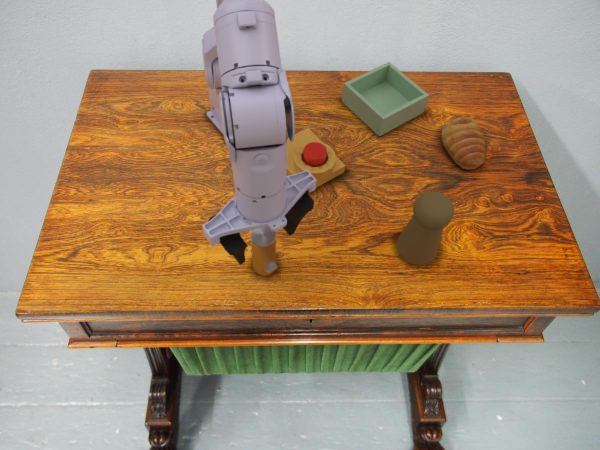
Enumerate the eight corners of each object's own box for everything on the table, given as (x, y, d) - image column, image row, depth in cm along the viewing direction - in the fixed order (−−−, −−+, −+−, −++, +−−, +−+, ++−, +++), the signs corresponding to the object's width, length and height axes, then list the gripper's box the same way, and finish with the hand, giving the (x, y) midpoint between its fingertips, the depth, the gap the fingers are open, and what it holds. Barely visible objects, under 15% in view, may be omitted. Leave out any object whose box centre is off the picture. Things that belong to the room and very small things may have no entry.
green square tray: (341, 101, 89) (343, 83, 85) (385, 79, 92) (389, 61, 89) (379, 136, 84) (383, 119, 81) (423, 112, 88) (429, 94, 84)
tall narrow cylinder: (246, 260, 70) (243, 229, 64) (265, 249, 71) (263, 217, 65) (263, 283, 68) (261, 253, 62) (282, 271, 69) (283, 241, 63)
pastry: (491, 170, 81) (499, 154, 78) (451, 174, 80) (458, 158, 77) (473, 129, 86) (480, 112, 83) (435, 132, 85) (441, 115, 82)
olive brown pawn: (436, 268, 70) (460, 226, 61) (394, 260, 71) (411, 217, 62) (438, 233, 74) (461, 188, 65) (398, 226, 74) (415, 180, 65)
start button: (298, 155, 77) (298, 148, 76) (316, 146, 78) (317, 138, 77) (312, 170, 76) (312, 163, 74) (330, 160, 77) (331, 152, 75)
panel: (268, 154, 81) (268, 139, 78) (307, 134, 84) (308, 119, 81) (305, 195, 77) (306, 181, 74) (345, 173, 80) (348, 158, 77)
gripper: (220, 235, 49) (231, 295, 60) (335, 172, 54) (326, 238, 65) (186, 188, 52) (202, 254, 63) (298, 133, 57) (295, 202, 69)
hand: (263, 243), depth 65 cm, fingers open, 7 cm apart
